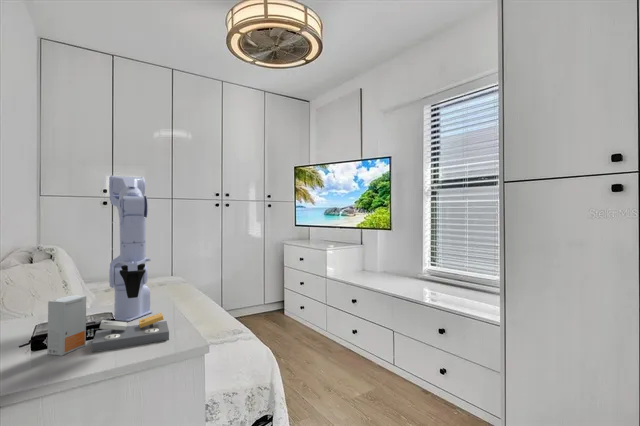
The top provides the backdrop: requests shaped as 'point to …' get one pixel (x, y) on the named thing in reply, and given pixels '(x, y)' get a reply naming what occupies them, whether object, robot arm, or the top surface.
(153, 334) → the power strip
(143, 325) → the amber rocker
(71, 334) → the skincare box
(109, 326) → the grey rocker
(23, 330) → the top surface
